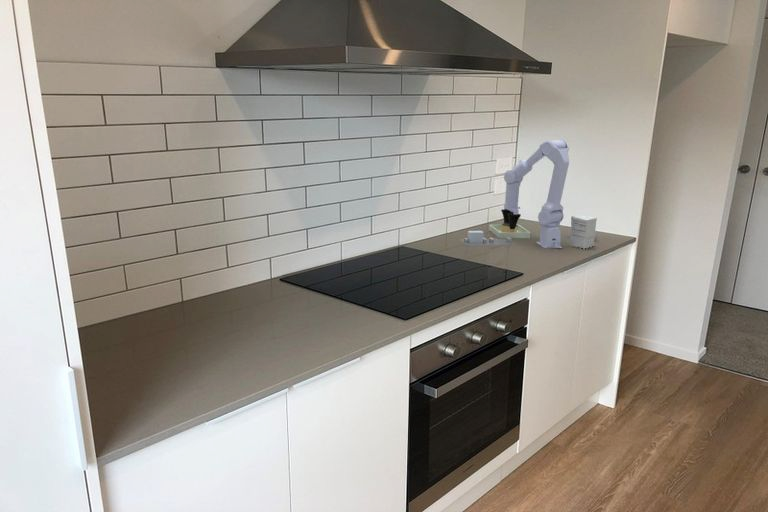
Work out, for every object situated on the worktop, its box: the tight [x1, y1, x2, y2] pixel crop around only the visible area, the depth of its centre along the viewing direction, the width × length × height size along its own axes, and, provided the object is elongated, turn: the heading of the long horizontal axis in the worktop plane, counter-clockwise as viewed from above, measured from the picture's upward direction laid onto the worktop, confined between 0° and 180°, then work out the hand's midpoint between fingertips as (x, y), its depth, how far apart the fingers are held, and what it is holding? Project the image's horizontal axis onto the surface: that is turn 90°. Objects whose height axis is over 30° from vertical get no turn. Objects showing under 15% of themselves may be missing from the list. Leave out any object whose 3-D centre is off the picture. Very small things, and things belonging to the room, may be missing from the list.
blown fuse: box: [501, 222, 518, 232], centre depth 277 cm, size 3×6×4 cm, turn 52°
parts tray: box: [488, 224, 532, 239], centre depth 278 cm, size 16×14×3 cm
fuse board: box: [459, 237, 517, 246], centre depth 263 cm, size 11×22×2 cm, turn 97°
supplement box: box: [569, 214, 598, 250], centre depth 260 cm, size 7×7×13 cm
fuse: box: [467, 230, 485, 243], centre depth 262 cm, size 3×6×4 cm, turn 97°
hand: (509, 227), depth 277 cm, fingers open, 7 cm apart
